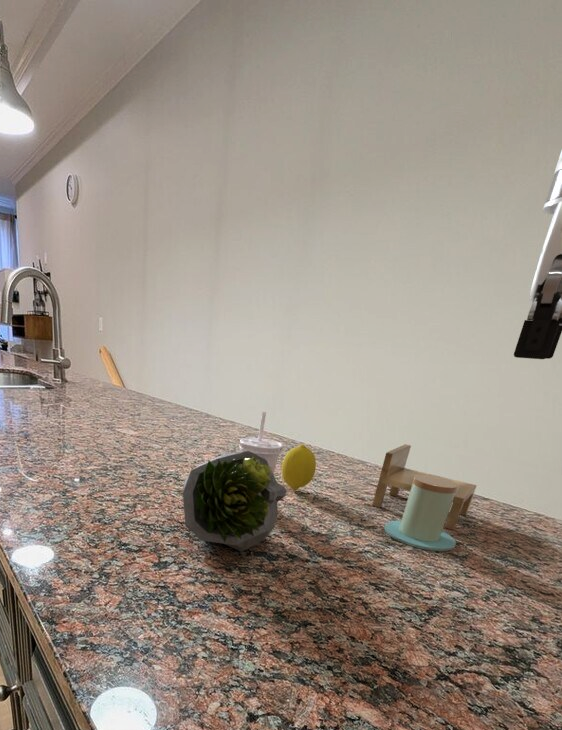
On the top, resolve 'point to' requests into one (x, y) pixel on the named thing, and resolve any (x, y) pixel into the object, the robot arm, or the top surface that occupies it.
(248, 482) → the potted plant
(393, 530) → the coaster
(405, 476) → the toy wooden bed
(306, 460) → the lemon
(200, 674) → the top surface
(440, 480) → the spice jar
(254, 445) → the smoothie
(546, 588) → the top surface
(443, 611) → the top surface
